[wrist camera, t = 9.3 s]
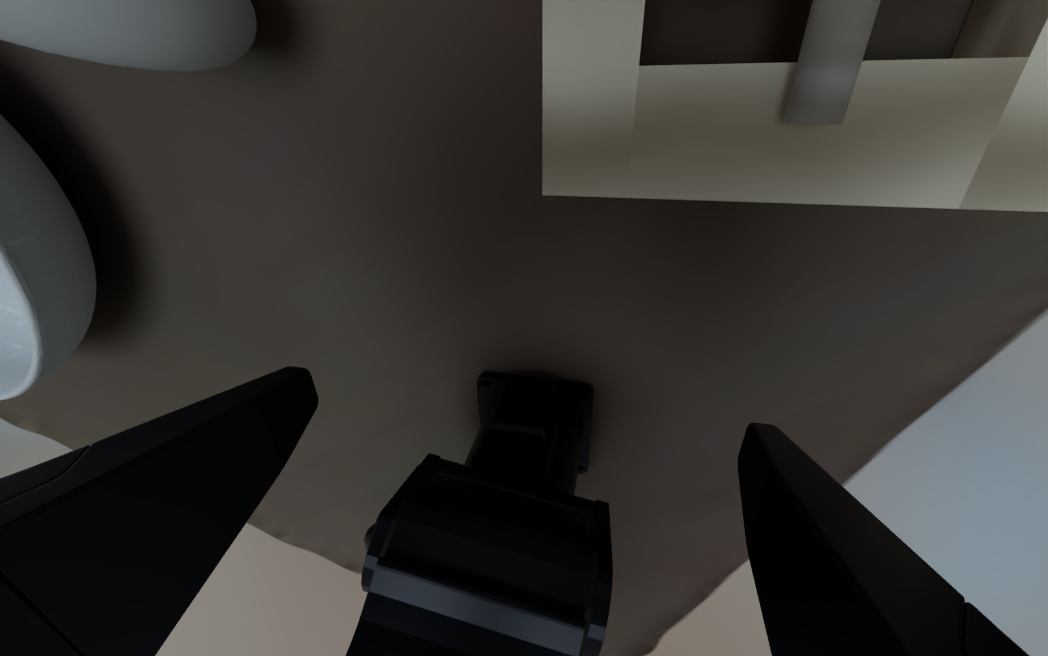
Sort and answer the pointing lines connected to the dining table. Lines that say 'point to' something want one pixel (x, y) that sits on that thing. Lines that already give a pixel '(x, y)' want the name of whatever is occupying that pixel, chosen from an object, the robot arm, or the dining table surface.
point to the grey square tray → (800, 114)
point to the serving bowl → (38, 269)
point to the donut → (134, 31)
